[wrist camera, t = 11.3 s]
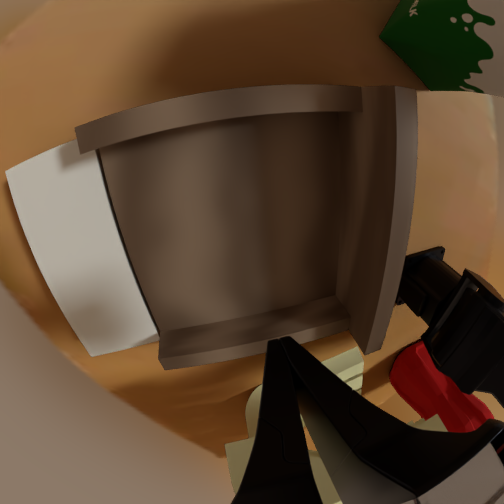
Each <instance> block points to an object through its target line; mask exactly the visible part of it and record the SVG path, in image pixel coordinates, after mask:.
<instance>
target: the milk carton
mask: <svg viewBox="0 0 504 504" xmlns="http://www.w3.org/2000/svg"><path fill="white" fill-rule="evenodd" d="M379 38H380V39H382V40H383V41H384V42H385V43H386V44H387V45H388V46H389V47H390V48H391V49H392V50H393V51H394V52H395V53H396V54H397V55H398V56H399V57H400V58H401V59H402V60H403V61H404V62H405V63H406V64H407V65H408V66H409V67H410V68H411V69H412V70H413V71H414V72H415V73H416V75H417V76H418V77H419V78H420V79H421V80H422V81H423V83H424V84H425V85H426V86H427V87H428V89H429V90H430V91H469V92H476V93H483V94H489V95H494V96H500V97H504V0H401V1H400V2H399V4H398V6H397V7H396V9H395V11H394V13H393V14H392V16H391V18H390V19H389V21H388V23H387V24H386V26H385V28H384V29H383V31H382V33H381V35H380V36H379Z"/></svg>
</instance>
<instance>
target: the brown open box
mask: <svg viewBox="0 0 504 504" xmlns="http://www.w3.org/2000/svg"><path fill="white" fill-rule="evenodd" d="M75 132H76V137H77V142H78V147H79V152H80V155H81V154H84V153H87V152H89V151H92V150H95V149H98V148H99V150H100V155H101V159H102V164H103V168H104V172H105V176H106V180H107V184H108V188H109V192H110V195H111V199H112V203H113V206H114V210H115V213H116V216H117V220H118V223H119V226H120V229H121V232H122V235H123V238H124V241H125V244H126V247H127V250H128V253H129V256H130V259H131V261H132V264H133V267H134V270H135V272H136V275H137V278H138V280H139V283H140V285H141V288H142V290H143V293H144V295H145V298H146V300H147V303H148V305H149V307H150V310H151V312H152V314H153V317H154V319H155V321H156V323H157V325H158V328H159V330H160V341H159V355H158V359H159V361H160V363H161V365H162V366H163V368H164V370H171V369H178V368H186V367H192V366H199V365H205V364H211V363H217V362H222V361H228V360H233V359H238V358H243V357H248V356H252V355H257V354H262V353H266V348H267V342H268V340H272V339H279V338H281V337H285V336H291V337H292V338H293V339H294V340H295V341H296V342H298V343H299V344H302V343H306V342H310V341H313V340H317V339H320V338H324V337H327V336H330V335H334V334H337V333H340V332H343V331H347V330H349V331H350V333H351V335H352V336H353V338H354V339H355V341H356V342H357V344H358V346H359V347H360V349H361V350H362V352H363V354H364V355H367V354H370V353H372V352H375V351H378V350H380V349H381V347H382V344H383V341H384V338H385V335H386V331H387V328H388V325H389V321H390V318H391V315H392V311H393V307H394V304H395V300H396V296H397V292H398V288H399V284H400V279H401V275H402V270H403V266H404V261H405V256H406V250H407V245H408V239H409V233H410V226H411V219H412V212H413V203H414V194H415V183H416V169H417V146H418V115H417V93H416V89H411V88H406V87H400V86H367V87H357V86H343V85H317V84H295V85H269V86H254V87H243V88H234V89H225V90H218V91H211V92H204V93H198V94H193V95H187V96H182V97H177V98H172V99H167V100H163V101H159V102H154V103H150V104H146V105H143V106H139V107H135V108H132V109H128V110H125V111H121V112H118V113H115V114H112V115H109V116H105V117H103V118H100V119H97V120H94V121H91V122H88V123H86V124H83V125H80V126H78V127H75Z"/></svg>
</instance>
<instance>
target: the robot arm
mask: <svg viewBox="0 0 504 504" xmlns="http://www.w3.org/2000/svg"><path fill="white" fill-rule="evenodd" d="M444 252H445V248H444V247H442V246H440V247H437V248H434V249H430V250H427V251H423V252H420V253H416V254H413V255H409V256H407V257H406V258H405V261H404V266H403V270H402V275H401V279H400V284H399V288H398V292H397V296H396V300H395V303H396V304H397V305H401V304H404V303H406V304H407V306H408V307H409V308H410V309H411V310H412V311H413V312H414V313H415V314H416V316H418V317H419V316H420V317H421V318H422V319H423V320H424V321H425V323H426V324H427V325H428V326H429V327H428V329H427V330H426V332H425V333H423V334H422V336H421V339H422V341H423V343H424V345H425V347H426V349H427V351H428V353H429V355H430V357H431V359H432V361H433V363H434V365H435V367H436V369H437V370H438V371H439V372H441V373H443V374H444V375H446V376H448V377H450V378H451V379H452V380H453V382H454V383H455V384H456V385H457V387H458V388H459V390H460V391H461V392H463V393H465V394H468V395H471V394H472V393H473V392H474V391H479V392H485V393H491V394H492V395H493V396H494V397H495V398H496V399H497V401H498V402H499V403H500V404H501V406H502V407H503V408H504V299H503V298H502V297H501V295H500V294H499V293H498V292H497V291H496V289H495V288H494V287H493V286H492V285H491V284H490V283H488V282H487V281H486V280H485V279H483V278H482V277H481V276H480V275H478V274H476V273H474V272H472V271H470V270H468V269H466V268H465V270H464V271H463V275H462V276H461V275H460V274H459V273H457V272H456V271H455V270H454V269H453V268H451V267H450V266H449V265H448V264H447V263H445V262H444V261H443V256H444ZM478 288H479V289H478ZM477 289H478V291H476V290H477ZM300 414H301V415H300ZM301 416H302V418H303V421H304V423H305V425H306V427H307V429H308V431H309V434H310V436H311V438H312V440H313V442H314V444H315V447H316V449H317V451H318V453H319V455H320V457H321V459H322V462H323V464H324V466H325V468H326V470H327V472H328V474H329V476H330V477H331V478H330V479H331V481H332V483H333V485H334V487H335V489H336V491H337V493H338V495H339V497H340V499H341V501H342V503H343V504H504V422H502V421H499V420H496V419H488V420H486V421H485V422H484V423H483V424H482V425H481V426H480V427H479V428H477V429H476V430H474V431H471V432H463V433H460V432H444V431H432V430H423V429H418V428H415V427H412V426H410V425H408V424H406V423H404V422H402V421H400V420H399V419H397V418H395V417H394V416H392V415H390V414H388V413H387V412H385V411H383V410H382V409H380V408H378V407H377V406H375V405H374V404H372V403H371V402H369V401H368V400H367V399H365V398H364V397H363V396H361V395H360V394H359V393H358V392H356V391H355V390H352V388H351V387H350V386H349V385H348V384H346V383H345V382H344V381H343V380H341V379H340V378H339V377H338V376H337V375H335V374H334V373H333V372H332V371H331V370H329V369H328V368H327V367H326V366H325V365H323V364H322V363H321V362H320V361H319V360H318V359H316V358H315V357H314V356H313V355H312V354H310V353H309V352H308V351H307V350H306V349H305V348H303V347H302V346H301V345H300V344H299V343H298V342H296V341H295V340H294V339H293V338H292V337H291V336H285V337H281V338H279V339H272V340H268V342H267V348H266V357H265V366H264V375H263V383H262V391H261V399H260V407H259V415H258V417H259V418H258V422H257V429H256V435H255V440H254V444H253V447H252V451H251V454H250V457H249V461H248V464H247V467H246V470H245V473H244V476H243V479H242V482H241V484H240V487H239V489H238V491H237V493H236V495H235V497H234V499H233V501H232V503H231V504H323V502H322V499H321V497H320V494H319V491H318V488H317V485H316V482H315V479H314V476H313V472H312V467H311V464H310V458H309V453H308V448H307V444H306V438H305V434H304V429H303V424H302V419H301Z"/></svg>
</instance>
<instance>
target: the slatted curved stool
mask: <svg viewBox="0 0 504 504" xmlns="http://www.w3.org/2000/svg"><path fill="white" fill-rule="evenodd" d="M321 363H322V364H323V365H325V366H326V367H327V368H328V369H329V370H331V371H332V372H333V373H334V374H335V375H337V376H338V377H339V378H340V379H341V380H343V381H344V382H345V383H346V384H348V385H349V386H350V387H351V388H352V390H355V391H356V392H358V393H359V394H360V395H361V387H362V379H363V375H362V372H363V365H364V361H363V358H362V356H361V354H360V351H359V349H358V346H357V347H355V348H353V349H351V350H348V351H346V352H344V353H342V354H339V355H337V356H335V357H332V358H330V359H328V360H325V361H323V362H321ZM261 391H262V384H261V385H260V386H258V387H257V388H256V389H255V390H254V391H253V392H252V394H251V396H250V397H249V399H248V402H247V405H246V410H245V418H246V423H247V429H248V436H249V439H244V440H240V441H236V442H232V443H227V444H224V445H225V450H226V456H227V461H228V466H229V472H230V477H231V482H232V486H233V489H234V492H235V494H236V493H237V491H238V489H239V487H240V484H241V482H242V479H243V476H244V473H245V470H246V467H247V464H248V461H249V457H250V454H251V451H252V447H253V444H254V440H255V435H256V429H257V422H258V418H259V417H258V415H259V407H260V399H261ZM300 415H301V414H300ZM301 419H302V424H303V428H304V427H305V426H306V425H305V423H304V421H303V418H302V416H301ZM407 424H408V425H410V426H412V427H415V428H418V429H423V430H432V431H444V432H448V431H447V429H446V427H445V426H444V424H443V422H442V421H441V419H440V418H439V416H438V414H436V415H434V416H433V417H431V418H430V419H428V420H427V421H425V419H424V418H422V419H420V420H419V421H417V422H415V423H413V421H410V422H409V423H407ZM308 453H309V458H310V464H311V467H312V472H313V476H314V479H315V482H316V485H317V488H318V491H319V494H320V497H321V499H322V502H323V504H343V503H342V501H341V499H340V497H339V495H338V493H337V491H336V489H335V487H334V485H333V483H332V481H331V479H330V478H331V477H330V476H329V474H328V472H327V470H326V468H325V466H324V464H323V462H322V459H321V457H320V455H319V453H318V451H312V450H308Z"/></svg>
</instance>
